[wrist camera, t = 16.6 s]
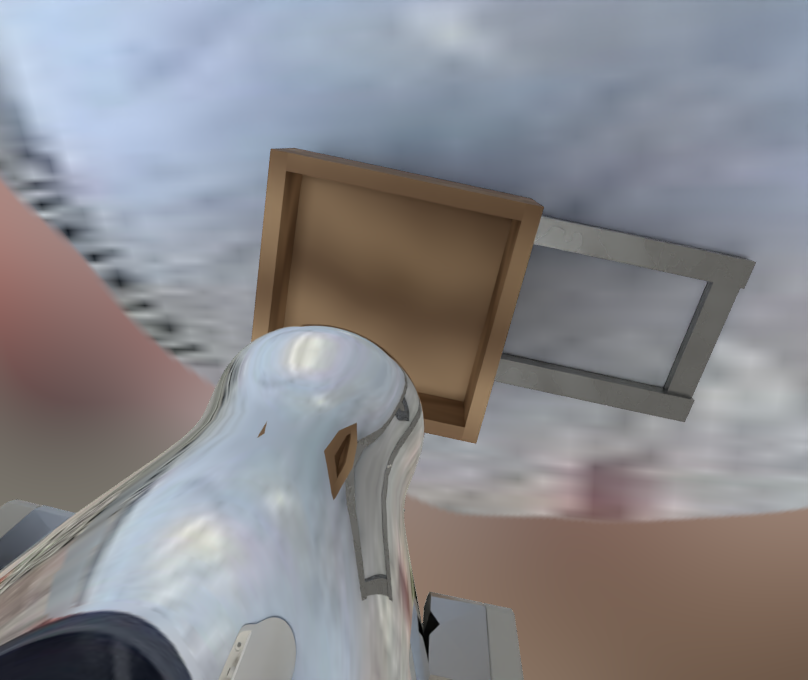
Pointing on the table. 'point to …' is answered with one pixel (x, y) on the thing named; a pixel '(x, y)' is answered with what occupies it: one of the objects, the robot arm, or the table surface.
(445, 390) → the tray
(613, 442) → the table surface
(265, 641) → the beer glass
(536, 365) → the track
